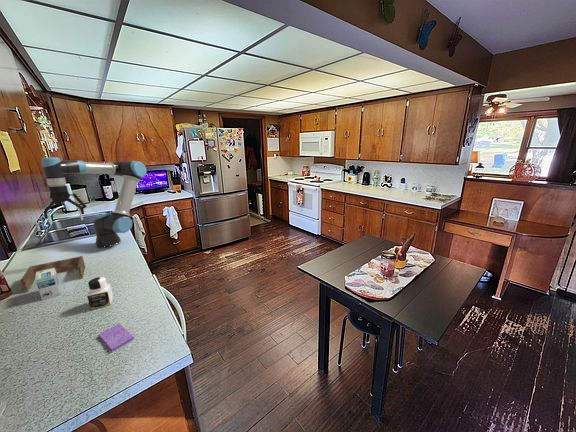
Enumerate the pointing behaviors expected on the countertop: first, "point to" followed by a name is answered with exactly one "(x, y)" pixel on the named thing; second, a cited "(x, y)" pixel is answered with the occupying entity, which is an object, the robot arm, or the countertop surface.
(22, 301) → the countertop surface
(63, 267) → the walnut u-shaped bracket
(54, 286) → the light bulb box
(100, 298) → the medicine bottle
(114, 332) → the sponges
